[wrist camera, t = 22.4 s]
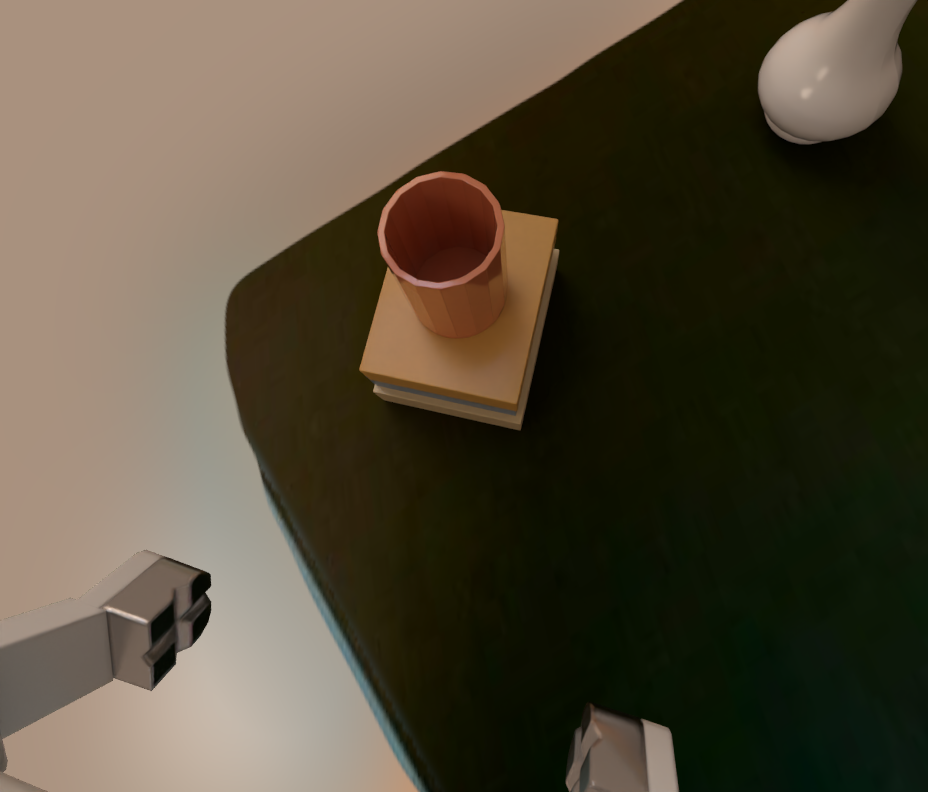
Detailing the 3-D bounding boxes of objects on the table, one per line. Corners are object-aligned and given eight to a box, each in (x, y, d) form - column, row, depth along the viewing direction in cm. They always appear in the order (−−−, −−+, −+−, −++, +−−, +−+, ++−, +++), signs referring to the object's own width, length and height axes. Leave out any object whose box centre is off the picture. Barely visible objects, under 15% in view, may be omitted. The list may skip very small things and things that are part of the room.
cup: (471, 229, 35) (457, 149, 27) (526, 302, 34) (529, 240, 26) (392, 282, 35) (355, 217, 27) (445, 357, 33) (421, 312, 26)
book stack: (556, 268, 43) (565, 210, 34) (520, 430, 41) (520, 411, 32) (425, 244, 44) (403, 183, 36) (383, 400, 42) (349, 374, 34)
